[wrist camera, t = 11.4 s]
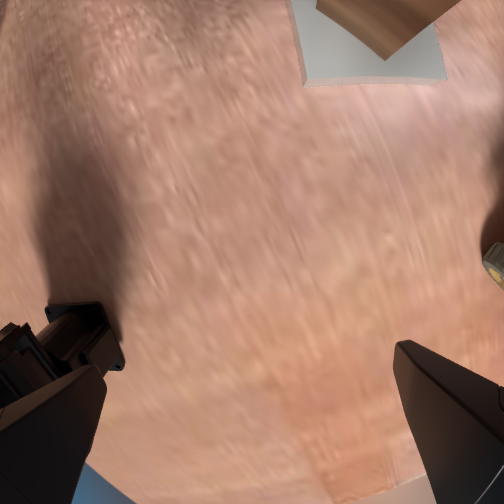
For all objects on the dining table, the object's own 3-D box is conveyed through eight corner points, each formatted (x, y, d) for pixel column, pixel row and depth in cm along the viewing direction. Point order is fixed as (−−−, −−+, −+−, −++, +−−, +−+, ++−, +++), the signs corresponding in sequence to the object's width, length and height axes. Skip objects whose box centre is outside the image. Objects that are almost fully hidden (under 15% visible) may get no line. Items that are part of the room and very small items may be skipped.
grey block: (302, 89, 18) (307, 79, 15) (279, -21, 16) (279, -43, 13) (427, 87, 17) (447, 79, 14) (398, -18, 15) (411, -36, 12)
